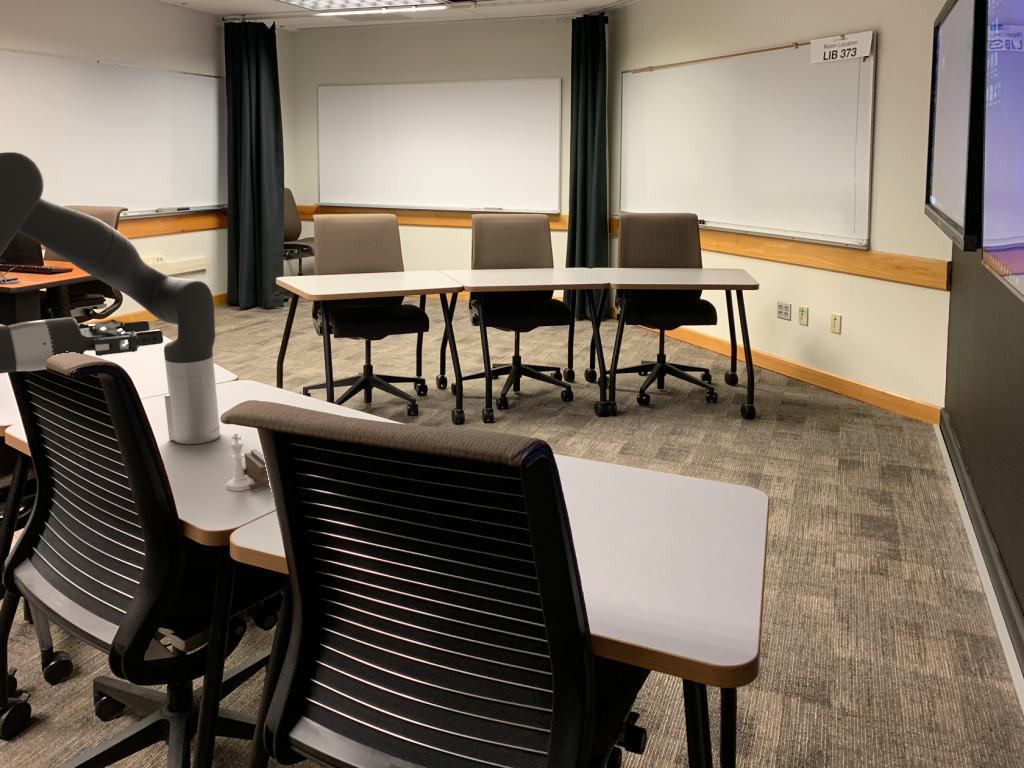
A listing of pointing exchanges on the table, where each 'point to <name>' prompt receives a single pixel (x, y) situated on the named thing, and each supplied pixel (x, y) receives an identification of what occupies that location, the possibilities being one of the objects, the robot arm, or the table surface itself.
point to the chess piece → (238, 468)
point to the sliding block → (255, 472)
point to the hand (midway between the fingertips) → (155, 331)
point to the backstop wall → (260, 458)
